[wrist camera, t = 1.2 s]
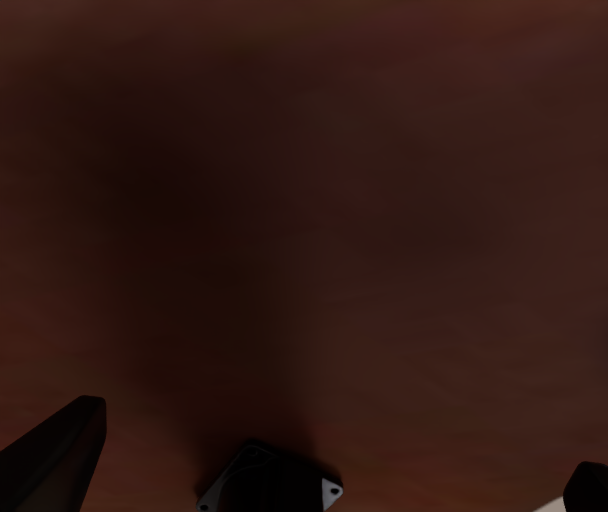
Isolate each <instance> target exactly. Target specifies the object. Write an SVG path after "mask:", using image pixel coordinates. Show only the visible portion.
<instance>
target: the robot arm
mask: <svg viewBox="0 0 608 512" xmlns="http://www.w3.org/2000/svg"><path fill="white" fill-rule="evenodd" d="M106 433H107V422H106V402H105V399H104V398H102V397H95V396H88V395H82V396H80V397H78V398H76V399H75V400H73V401H72V402H71V403H69V404H68V405H66V406H65V407H63V408H62V409H60V410H59V411H58V412H56V413H55V414H53V415H52V416H50V417H49V418H48V419H46V420H45V421H43V422H42V423H40V424H39V425H38V426H36V427H35V428H33V429H32V430H30V431H29V432H28V433H26V434H25V435H23V436H22V437H20V438H19V439H17V440H16V441H15V442H13V443H12V444H10V445H9V446H7V447H6V448H5V449H3V450H2V451H0V512H79V511H80V509H81V506H82V503H83V500H84V498H85V495H86V492H87V489H88V487H89V484H90V481H91V478H92V476H93V473H94V470H95V468H96V465H97V462H98V459H99V457H100V454H101V451H102V448H103V446H104V443H105V439H106ZM251 449H254V450H251ZM342 494H343V483H342V482H341V481H340V480H338V479H336V478H333V477H331V476H329V475H327V474H325V473H323V472H321V471H319V470H317V469H315V468H313V467H311V466H308V465H306V464H304V463H302V462H300V461H298V460H296V459H294V458H292V457H290V456H288V455H285V454H283V453H281V452H279V451H277V450H275V449H273V448H271V447H269V446H267V445H265V444H263V443H260V442H258V441H256V440H249V441H247V442H245V443H244V444H243V446H242V447H241V448H240V449H239V450H238V452H237V453H236V454H235V455H234V456H233V458H232V459H231V460H230V461H229V462H228V463H227V465H226V466H225V467H224V468H223V469H222V471H221V472H220V473H219V474H218V475H217V477H216V478H215V479H214V480H213V481H212V482H211V484H210V485H209V486H208V487H207V488H206V490H205V491H204V492H203V493H202V494H201V496H200V497H199V498H198V500H197V503H196V509H197V511H199V512H324V511H325V510H327V509H328V508H329V507H330V506H331V505H332V504H333V503H334V502H335V501H336V500H337V499H338V498H339V497H340V496H341V495H342ZM563 501H564V505H565V509H566V512H608V466H606V465H605V464H601V463H595V462H587V461H584V462H581V463H580V464H579V465H578V466H577V468H576V469H575V471H574V473H573V474H572V476H571V478H570V480H569V481H568V483H567V485H566V487H565V489H564V492H563Z"/></svg>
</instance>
